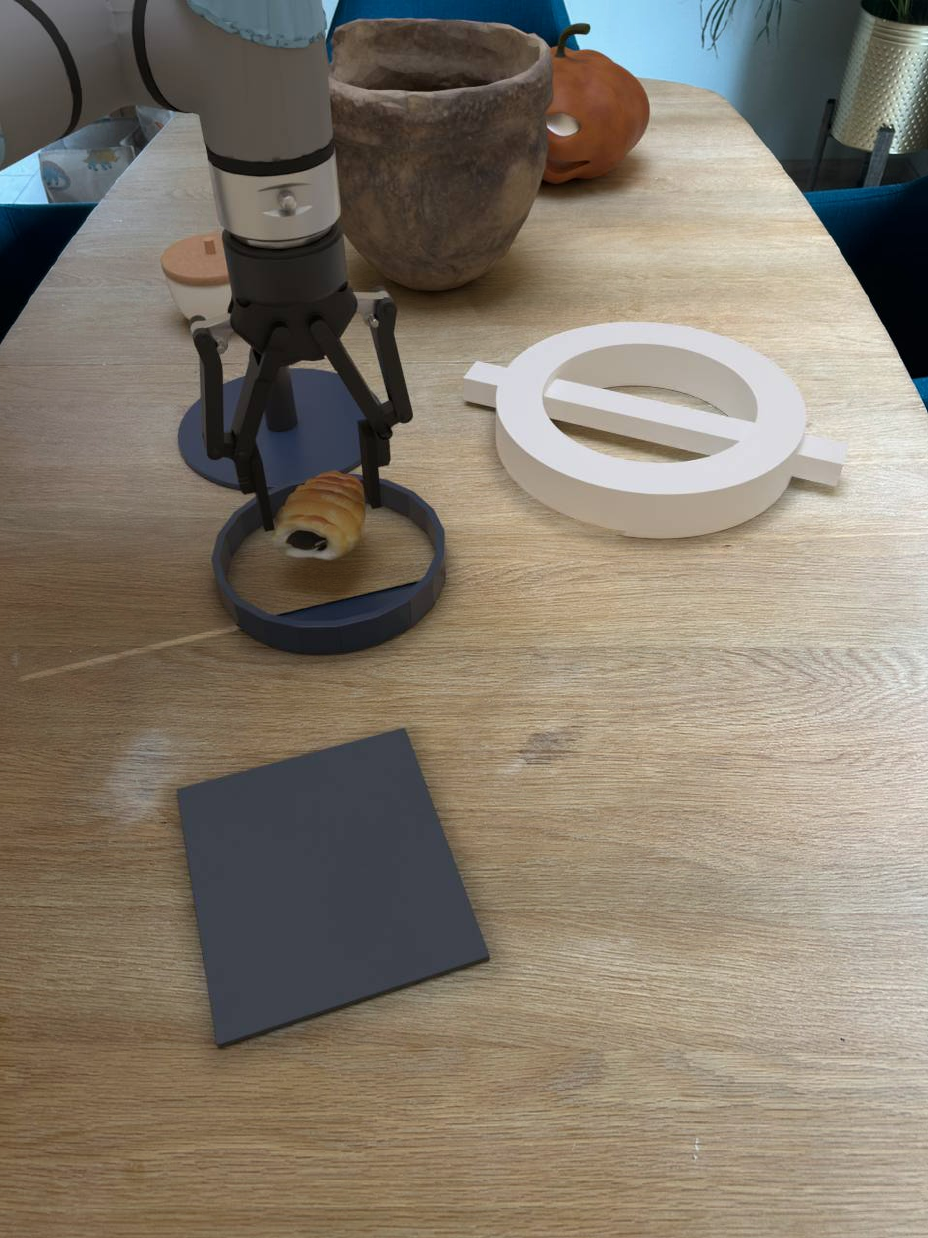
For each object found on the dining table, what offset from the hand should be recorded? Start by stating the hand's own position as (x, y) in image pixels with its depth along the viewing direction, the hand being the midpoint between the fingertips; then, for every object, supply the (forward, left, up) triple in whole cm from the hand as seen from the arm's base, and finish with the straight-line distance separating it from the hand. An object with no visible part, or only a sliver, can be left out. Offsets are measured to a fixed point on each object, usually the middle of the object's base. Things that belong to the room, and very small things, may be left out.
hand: (320, 508), depth 78 cm
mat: (+27, -7, -7) cm, 29 cm away
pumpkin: (-72, +49, -7) cm, 87 cm away
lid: (-21, 0, -6) cm, 22 cm away
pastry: (0, 0, -2) cm, 2 cm away
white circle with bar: (-8, +32, -7) cm, 34 cm away
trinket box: (-45, -2, -7) cm, 45 cm away
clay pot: (-46, +23, -7) cm, 52 cm away
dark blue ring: (0, 0, -7) cm, 7 cm away
